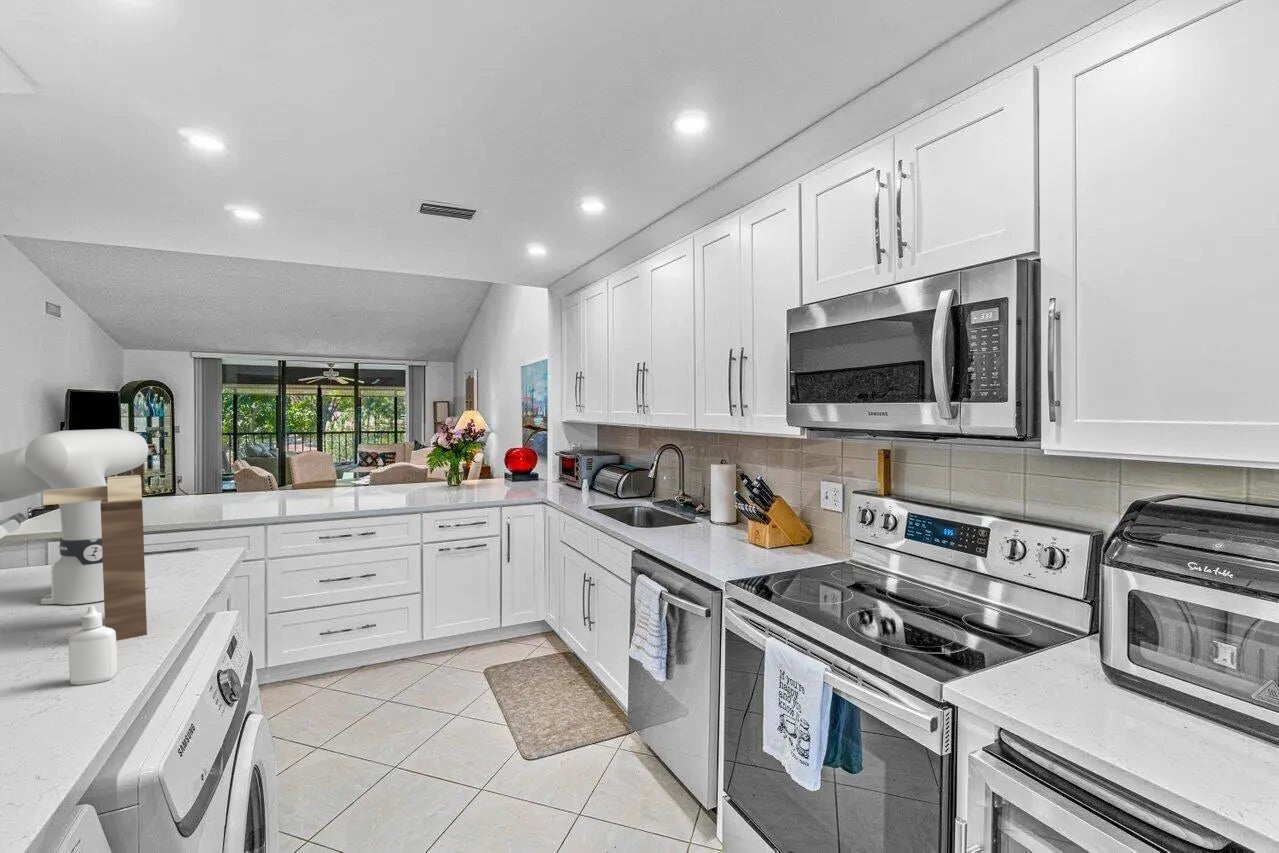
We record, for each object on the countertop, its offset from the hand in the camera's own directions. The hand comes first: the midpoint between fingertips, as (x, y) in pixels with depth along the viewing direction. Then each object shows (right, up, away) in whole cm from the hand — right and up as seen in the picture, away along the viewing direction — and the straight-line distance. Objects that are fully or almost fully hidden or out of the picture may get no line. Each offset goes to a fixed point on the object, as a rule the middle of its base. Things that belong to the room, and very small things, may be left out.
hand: (21, 518), depth 111 cm
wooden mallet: (+7, +3, +7) cm, 10 cm away
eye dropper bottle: (+25, -24, -13) cm, 37 cm away
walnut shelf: (+11, -23, +10) cm, 28 cm away
